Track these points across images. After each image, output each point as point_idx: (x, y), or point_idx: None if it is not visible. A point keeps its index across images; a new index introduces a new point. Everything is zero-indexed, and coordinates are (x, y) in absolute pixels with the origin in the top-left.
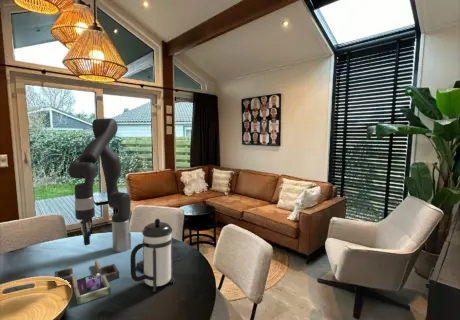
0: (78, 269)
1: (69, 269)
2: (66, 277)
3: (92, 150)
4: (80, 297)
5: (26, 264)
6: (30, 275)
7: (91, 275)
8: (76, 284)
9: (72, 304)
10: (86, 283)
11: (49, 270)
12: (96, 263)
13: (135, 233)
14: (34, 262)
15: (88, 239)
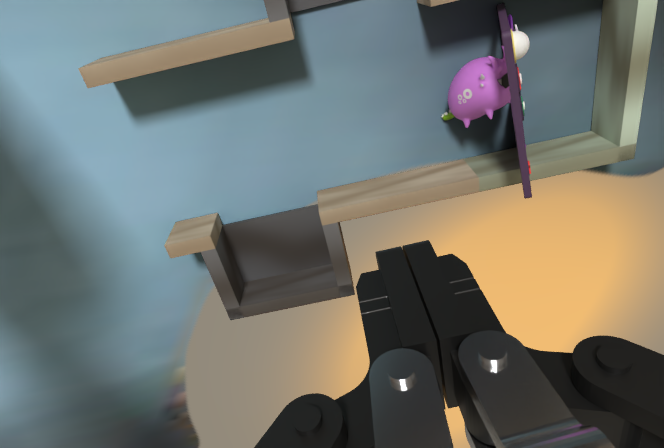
0: (155, 187)
1: (217, 248)
2: (337, 250)
3: None
4: (634, 142)
5: (33, 432)
6: (168, 391)
7: (520, 101)
8: (465, 183)
9: None
10: (468, 121)
11: (130, 332)
12: (174, 67)
13: None
14: (10, 410)
15: (488, 313)
